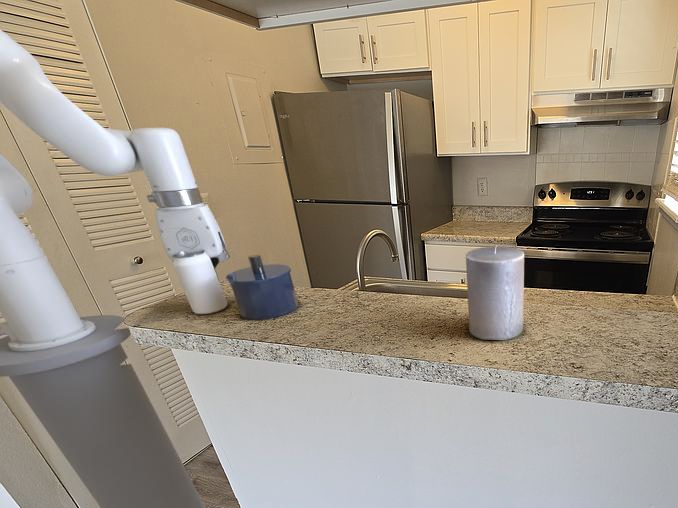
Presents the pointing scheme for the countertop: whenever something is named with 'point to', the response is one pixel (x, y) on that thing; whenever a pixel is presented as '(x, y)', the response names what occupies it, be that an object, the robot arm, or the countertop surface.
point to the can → (199, 282)
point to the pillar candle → (495, 292)
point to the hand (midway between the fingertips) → (212, 288)
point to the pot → (265, 298)
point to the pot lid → (257, 272)
